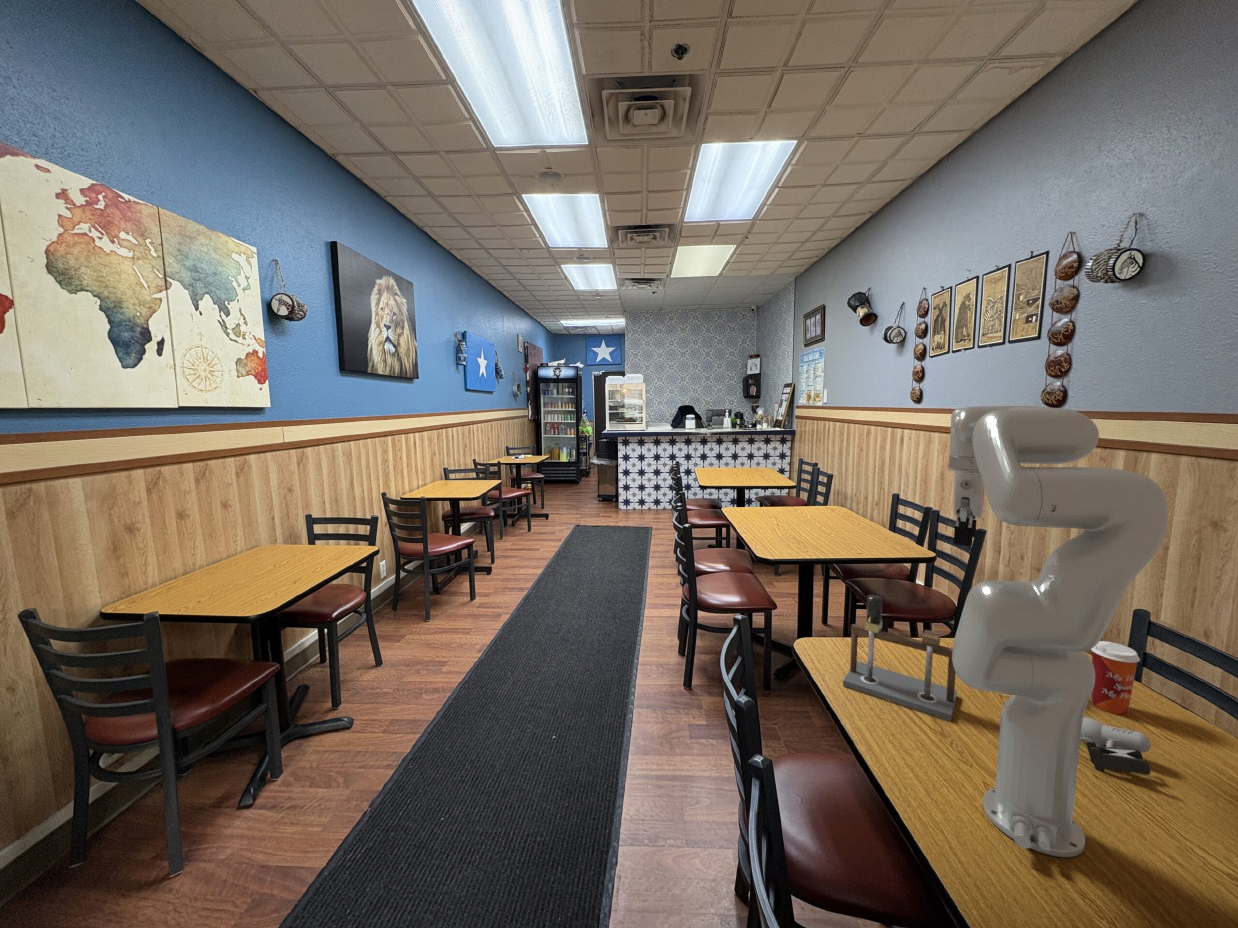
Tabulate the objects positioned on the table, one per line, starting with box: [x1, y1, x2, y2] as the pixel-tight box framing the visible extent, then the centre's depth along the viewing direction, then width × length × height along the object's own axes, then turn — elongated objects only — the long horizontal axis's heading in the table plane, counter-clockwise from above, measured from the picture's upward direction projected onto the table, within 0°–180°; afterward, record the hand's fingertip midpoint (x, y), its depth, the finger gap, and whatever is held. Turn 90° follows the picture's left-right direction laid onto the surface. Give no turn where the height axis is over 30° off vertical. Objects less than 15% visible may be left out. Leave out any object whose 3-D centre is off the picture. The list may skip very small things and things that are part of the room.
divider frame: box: [849, 623, 956, 703], centre depth 115 cm, size 4×22×14 cm, turn 50°
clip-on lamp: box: [1080, 717, 1152, 776], centre depth 95 cm, size 12×6×18 cm
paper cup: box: [1090, 640, 1141, 716], centre depth 107 cm, size 8×8×14 cm
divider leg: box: [864, 594, 883, 678], centre depth 118 cm, size 4×3×20 cm
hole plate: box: [842, 660, 958, 722], centre depth 116 cm, size 12×22×2 cm, turn 50°
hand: (964, 540), depth 107 cm, fingers open, 9 cm apart
